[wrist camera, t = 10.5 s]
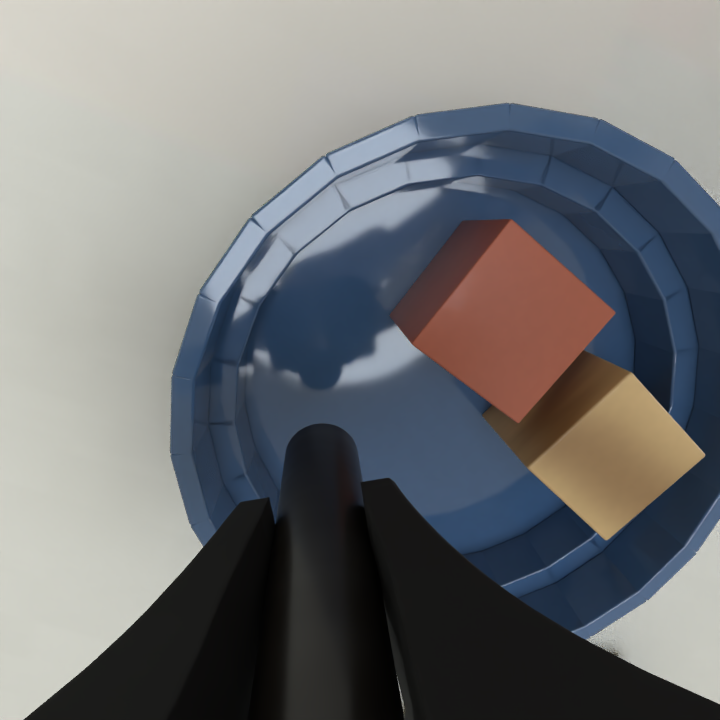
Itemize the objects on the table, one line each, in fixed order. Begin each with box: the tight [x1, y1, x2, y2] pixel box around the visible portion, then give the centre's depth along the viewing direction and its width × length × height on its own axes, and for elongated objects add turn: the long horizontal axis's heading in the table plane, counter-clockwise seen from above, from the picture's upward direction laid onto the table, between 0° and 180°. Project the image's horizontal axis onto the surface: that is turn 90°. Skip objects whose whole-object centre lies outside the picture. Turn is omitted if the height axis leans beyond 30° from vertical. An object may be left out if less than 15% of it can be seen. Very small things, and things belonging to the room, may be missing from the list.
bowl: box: [170, 103, 720, 640], centre depth 15 cm, size 17×17×4 cm
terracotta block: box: [390, 219, 616, 423], centre depth 14 cm, size 4×4×4 cm
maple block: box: [482, 350, 705, 540], centre depth 16 cm, size 4×4×4 cm
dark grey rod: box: [248, 423, 404, 720], centre depth 8 cm, size 2×2×9 cm
